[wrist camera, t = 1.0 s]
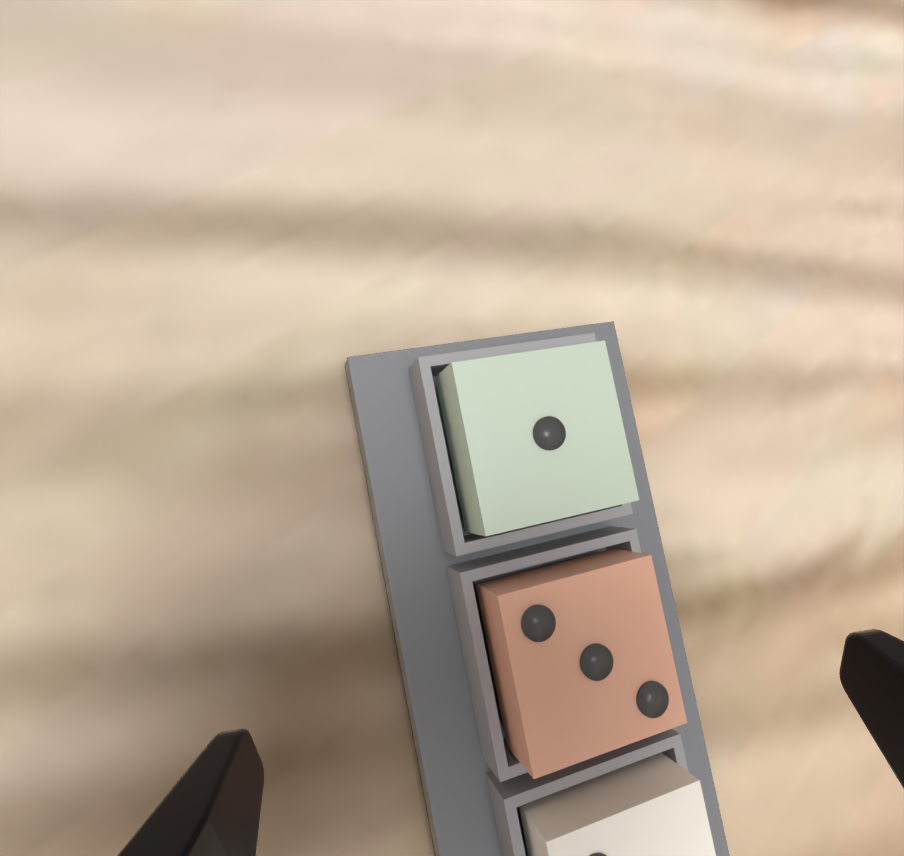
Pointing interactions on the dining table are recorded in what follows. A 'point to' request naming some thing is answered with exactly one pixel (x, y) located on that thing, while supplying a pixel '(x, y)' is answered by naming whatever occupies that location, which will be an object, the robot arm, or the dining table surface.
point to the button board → (456, 601)
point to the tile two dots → (623, 815)
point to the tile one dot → (535, 437)
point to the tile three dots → (580, 658)
